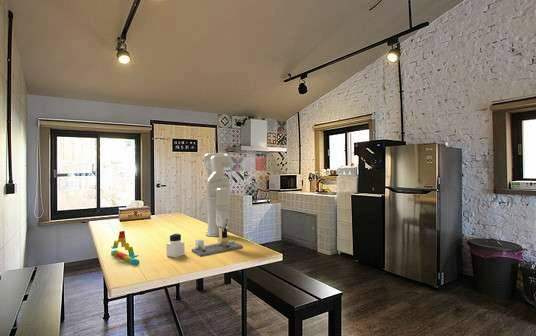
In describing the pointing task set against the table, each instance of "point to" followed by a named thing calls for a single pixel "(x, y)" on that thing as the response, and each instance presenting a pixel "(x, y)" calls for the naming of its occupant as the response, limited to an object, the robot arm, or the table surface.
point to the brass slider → (221, 240)
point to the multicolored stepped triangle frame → (131, 256)
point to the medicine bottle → (175, 246)
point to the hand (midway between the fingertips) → (223, 236)
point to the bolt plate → (214, 247)
